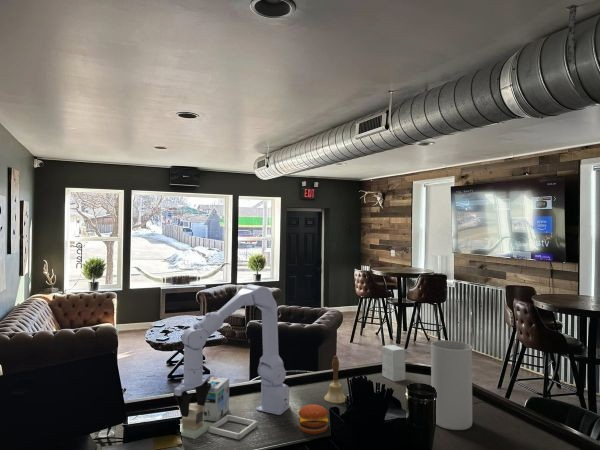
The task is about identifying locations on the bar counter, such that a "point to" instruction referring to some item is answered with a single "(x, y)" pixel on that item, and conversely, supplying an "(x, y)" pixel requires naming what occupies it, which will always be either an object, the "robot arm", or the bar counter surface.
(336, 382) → the hand bell
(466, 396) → the cylinder vase
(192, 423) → the ash block
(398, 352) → the small box
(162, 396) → the bar counter surface
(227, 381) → the light bulb box
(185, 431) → the board
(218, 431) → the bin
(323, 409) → the hamburger
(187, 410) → the robot arm
